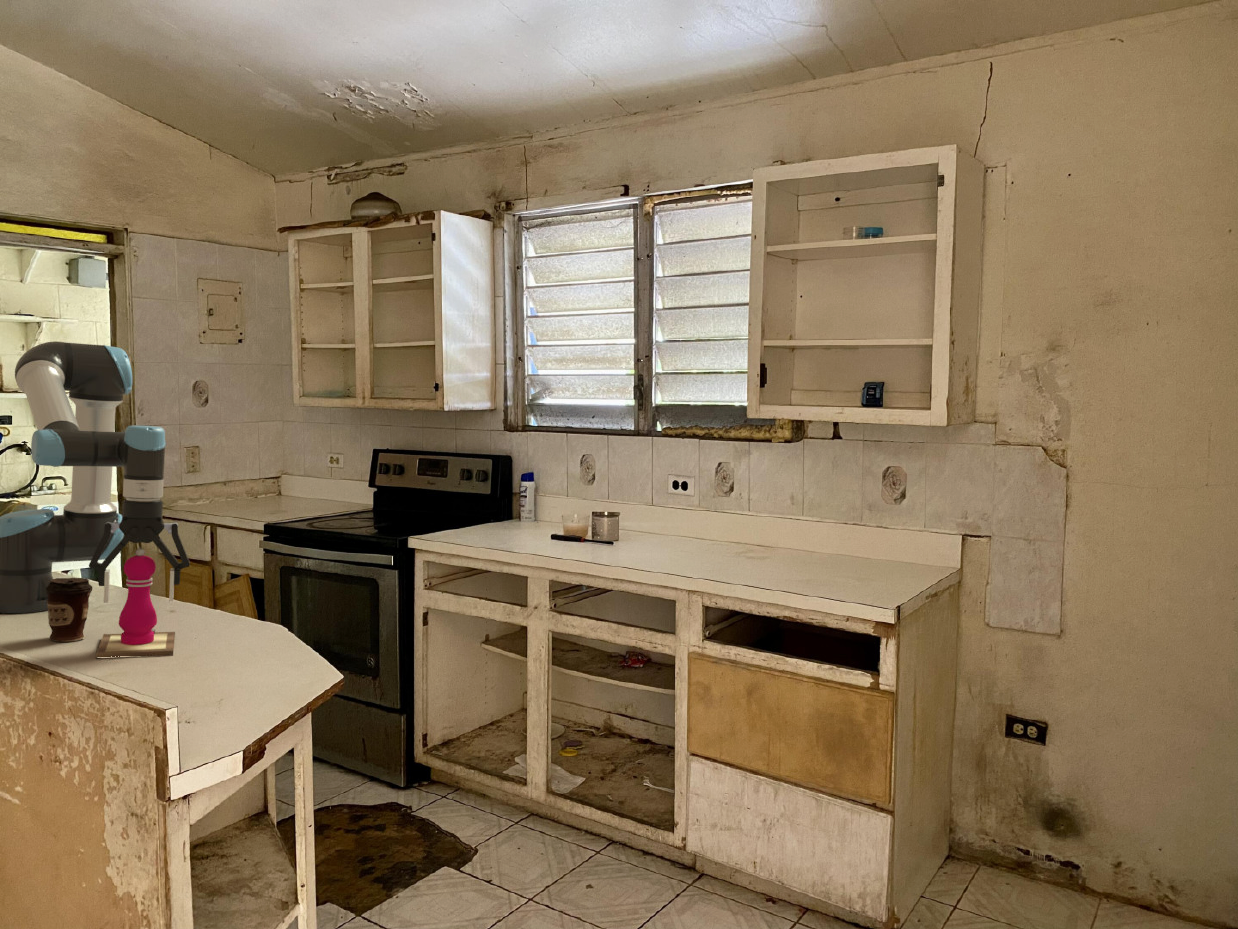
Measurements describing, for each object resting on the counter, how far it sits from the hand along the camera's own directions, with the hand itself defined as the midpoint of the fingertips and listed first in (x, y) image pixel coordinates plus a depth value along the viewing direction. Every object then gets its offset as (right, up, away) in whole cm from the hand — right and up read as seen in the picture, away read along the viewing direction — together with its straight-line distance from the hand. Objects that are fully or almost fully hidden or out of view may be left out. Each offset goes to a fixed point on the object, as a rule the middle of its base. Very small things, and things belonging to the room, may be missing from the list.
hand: (139, 600), depth 193 cm
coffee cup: (-17, -9, +3) cm, 20 cm away
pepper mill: (-1, -9, 0) cm, 9 cm away
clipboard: (-1, -10, +1) cm, 10 cm away
